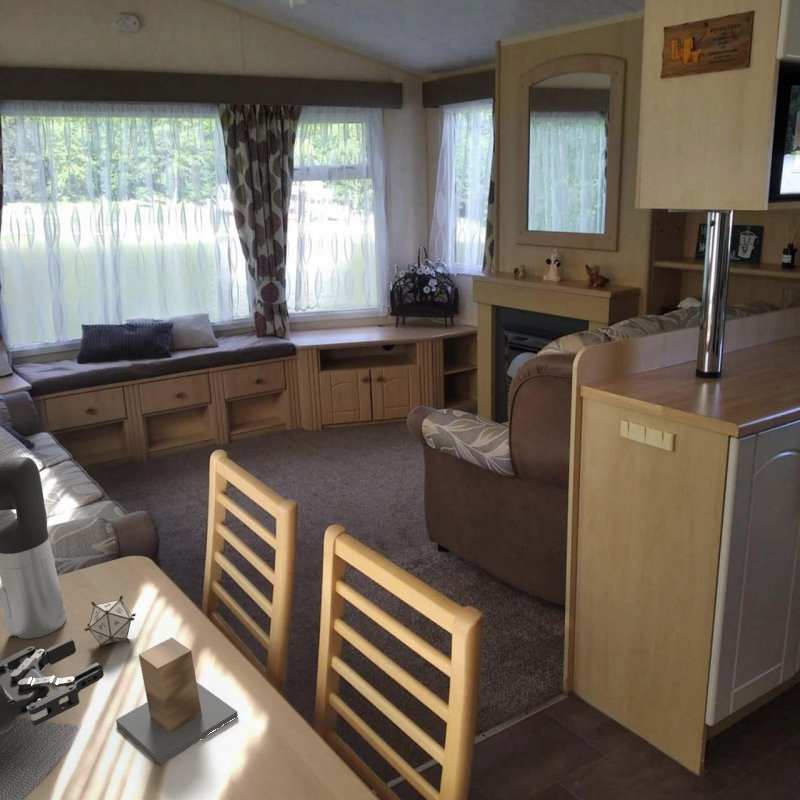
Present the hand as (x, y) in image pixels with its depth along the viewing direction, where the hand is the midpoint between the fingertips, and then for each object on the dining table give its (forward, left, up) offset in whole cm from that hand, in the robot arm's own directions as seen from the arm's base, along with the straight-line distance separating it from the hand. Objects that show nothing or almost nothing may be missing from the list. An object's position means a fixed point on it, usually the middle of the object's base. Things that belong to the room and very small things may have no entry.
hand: (87, 656), depth 111 cm
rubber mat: (+9, +5, -16) cm, 19 cm away
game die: (-7, +29, -16) cm, 34 cm away
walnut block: (+9, +5, -15) cm, 18 cm away
